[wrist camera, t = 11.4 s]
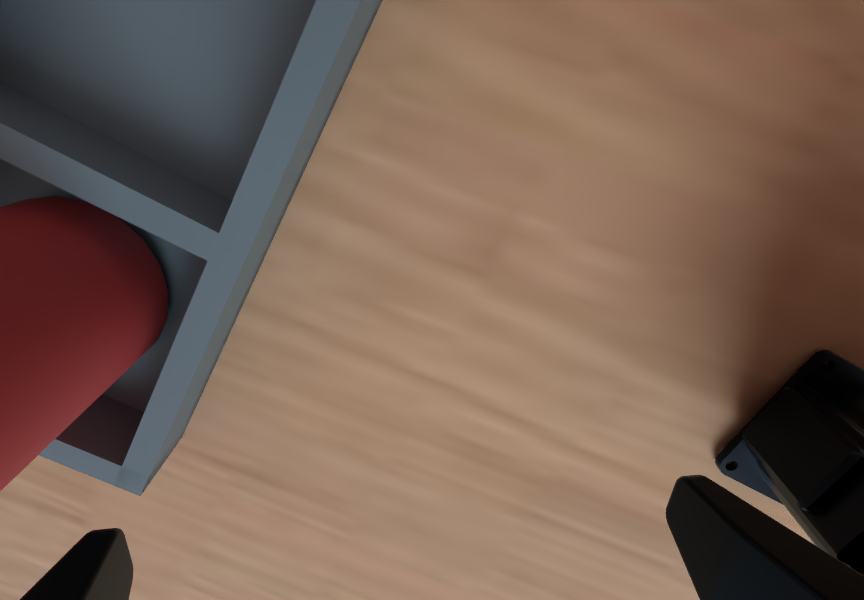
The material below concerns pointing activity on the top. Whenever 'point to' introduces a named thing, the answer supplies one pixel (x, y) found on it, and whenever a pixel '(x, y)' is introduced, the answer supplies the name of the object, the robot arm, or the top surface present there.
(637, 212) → the top surface
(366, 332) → the top surface
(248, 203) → the divided can tray
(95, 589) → the robot arm
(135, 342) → the beer can
